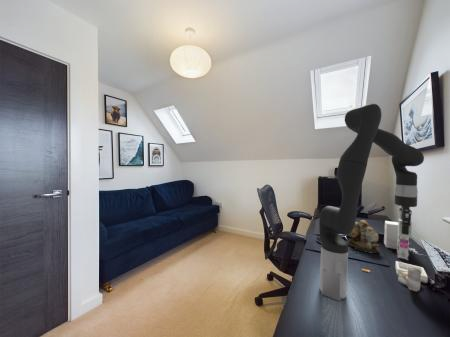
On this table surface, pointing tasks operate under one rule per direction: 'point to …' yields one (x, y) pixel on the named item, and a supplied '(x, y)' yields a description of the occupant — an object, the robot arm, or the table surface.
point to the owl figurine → (364, 237)
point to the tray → (404, 268)
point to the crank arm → (412, 278)
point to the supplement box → (391, 234)
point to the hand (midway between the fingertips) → (404, 232)
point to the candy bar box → (403, 247)
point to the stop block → (401, 229)
